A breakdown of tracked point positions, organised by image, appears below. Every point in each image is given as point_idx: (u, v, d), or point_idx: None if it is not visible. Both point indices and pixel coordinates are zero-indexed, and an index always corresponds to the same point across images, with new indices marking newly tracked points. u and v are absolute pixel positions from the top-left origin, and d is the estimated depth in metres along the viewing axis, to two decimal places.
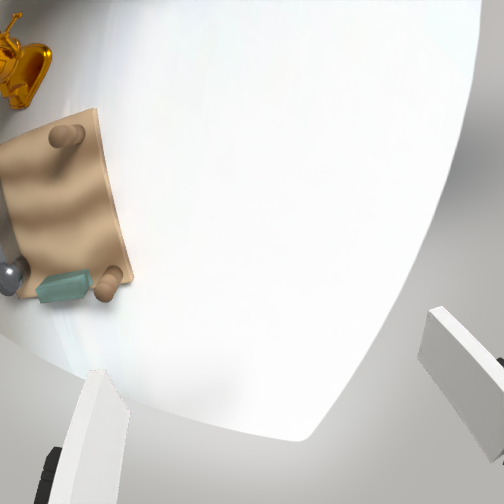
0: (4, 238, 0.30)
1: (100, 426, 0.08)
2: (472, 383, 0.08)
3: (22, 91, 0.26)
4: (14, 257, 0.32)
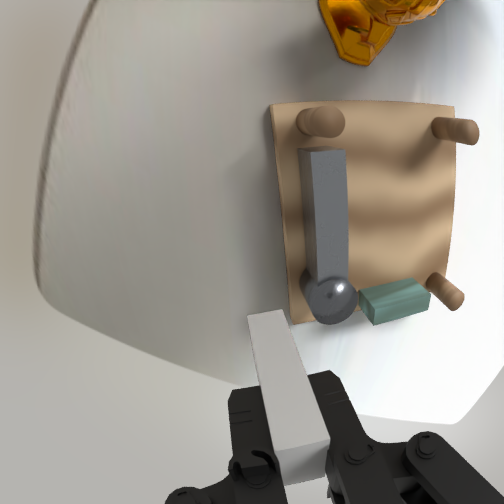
0: None
1: None
2: None
3: (372, 44, 0.22)
4: None
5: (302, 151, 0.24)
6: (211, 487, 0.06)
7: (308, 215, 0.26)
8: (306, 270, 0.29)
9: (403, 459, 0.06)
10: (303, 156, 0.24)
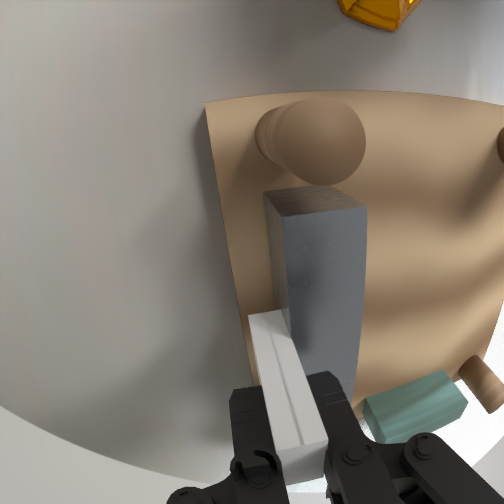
0: None
1: None
2: None
3: None
4: None
5: (269, 204, 0.11)
6: (213, 487, 0.06)
7: None
8: None
9: (402, 460, 0.06)
10: (271, 215, 0.11)
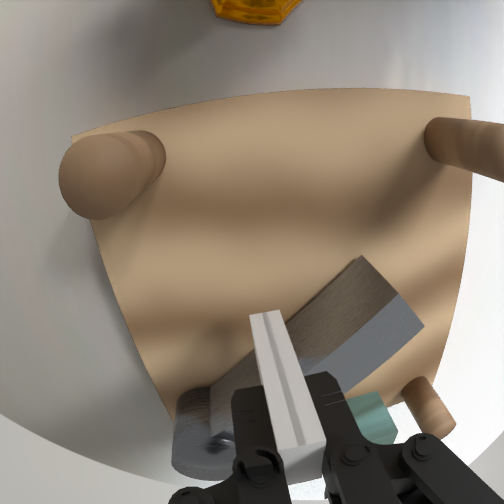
0: None
1: None
2: None
3: None
4: None
5: (373, 271, 0.13)
6: (215, 487, 0.06)
7: None
8: (208, 391, 0.17)
9: (400, 461, 0.06)
10: (368, 278, 0.13)
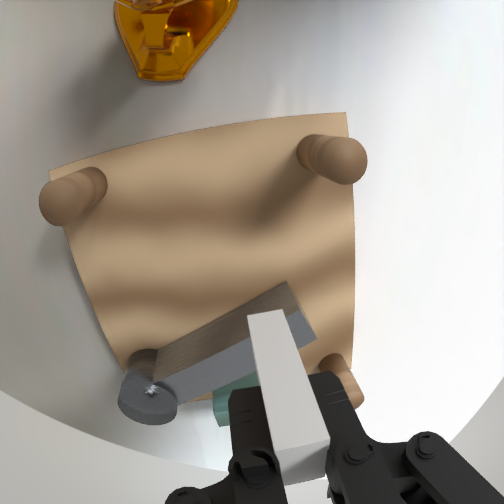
0: None
1: None
2: None
3: (180, 46, 0.15)
4: None
5: (289, 292, 0.20)
6: (211, 487, 0.06)
7: (220, 332, 0.21)
8: (156, 352, 0.22)
9: (403, 459, 0.06)
10: (285, 297, 0.20)
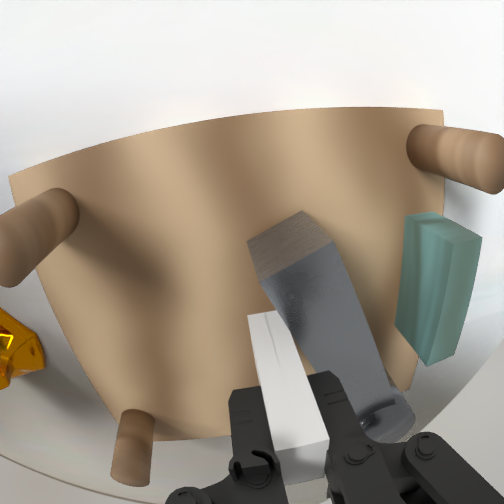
0: None
1: None
2: None
3: (6, 344, 0.15)
4: None
5: (252, 258, 0.12)
6: (212, 487, 0.06)
7: None
8: None
9: (403, 459, 0.06)
10: None
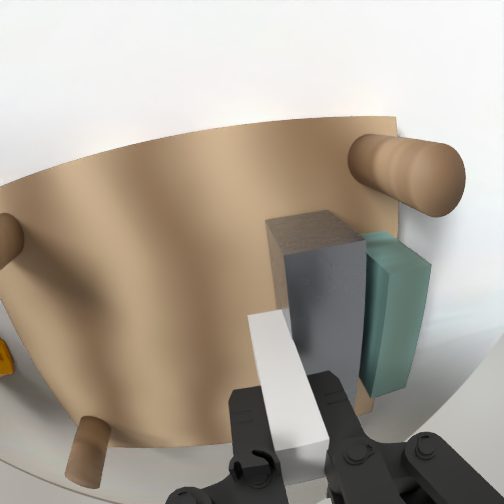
0: None
1: None
2: None
3: None
4: None
5: (271, 235, 0.12)
6: (212, 487, 0.06)
7: None
8: None
9: (403, 459, 0.06)
10: (273, 247, 0.12)
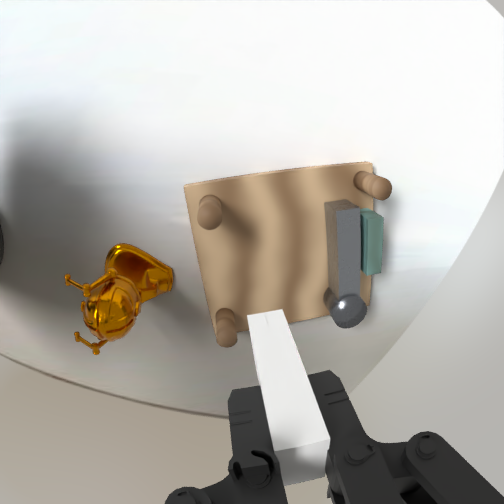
0: None
1: None
2: None
3: (154, 274, 0.36)
4: None
5: (329, 207, 0.34)
6: (211, 487, 0.06)
7: (332, 251, 0.35)
8: (328, 289, 0.39)
9: (403, 459, 0.06)
10: (329, 210, 0.34)
